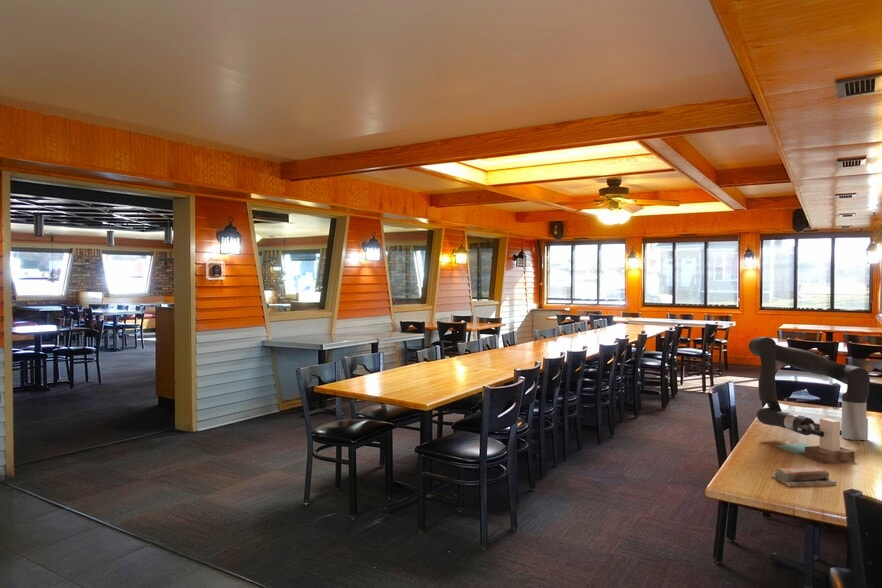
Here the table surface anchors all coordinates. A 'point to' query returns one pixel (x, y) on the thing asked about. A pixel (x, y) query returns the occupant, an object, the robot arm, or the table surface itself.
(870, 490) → the table surface
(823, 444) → the beige rectangular block
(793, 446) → the mat
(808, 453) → the block
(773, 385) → the robot arm
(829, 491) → the table surface
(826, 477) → the packaged product
